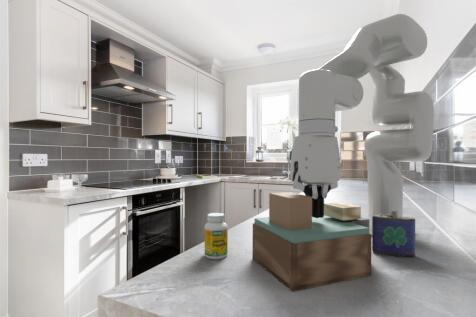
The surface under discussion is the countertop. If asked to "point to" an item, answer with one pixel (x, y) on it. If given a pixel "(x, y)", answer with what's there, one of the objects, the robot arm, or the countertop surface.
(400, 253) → the flask
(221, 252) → the supplement bottle
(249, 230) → the countertop surface
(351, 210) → the pale gold block
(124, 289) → the countertop surface
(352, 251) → the wooden box
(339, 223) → the lid
